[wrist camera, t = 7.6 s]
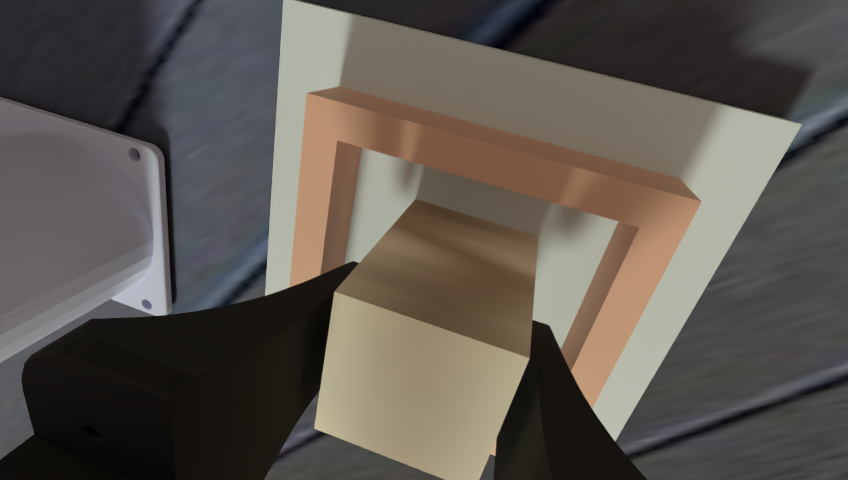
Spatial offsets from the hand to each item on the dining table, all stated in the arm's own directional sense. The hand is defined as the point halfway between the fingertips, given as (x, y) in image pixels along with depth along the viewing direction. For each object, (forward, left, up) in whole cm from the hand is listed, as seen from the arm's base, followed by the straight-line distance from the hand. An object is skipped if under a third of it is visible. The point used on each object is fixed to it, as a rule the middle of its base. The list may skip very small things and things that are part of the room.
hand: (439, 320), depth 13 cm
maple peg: (0, 0, -3) cm, 3 cm away
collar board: (0, 0, -4) cm, 4 cm away
